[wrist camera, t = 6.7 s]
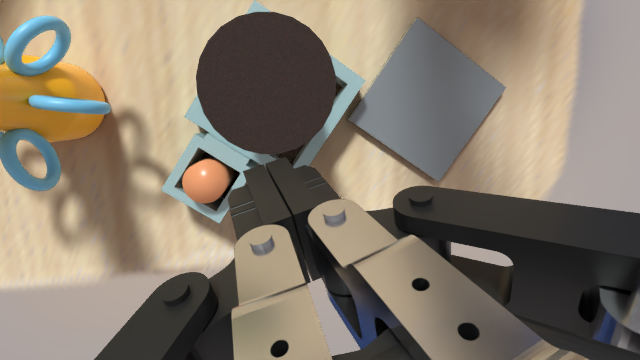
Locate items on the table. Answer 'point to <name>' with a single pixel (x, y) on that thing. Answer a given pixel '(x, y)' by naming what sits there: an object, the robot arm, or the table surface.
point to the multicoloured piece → (44, 100)
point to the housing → (246, 159)
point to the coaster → (426, 100)
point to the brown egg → (207, 180)
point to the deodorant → (266, 82)
